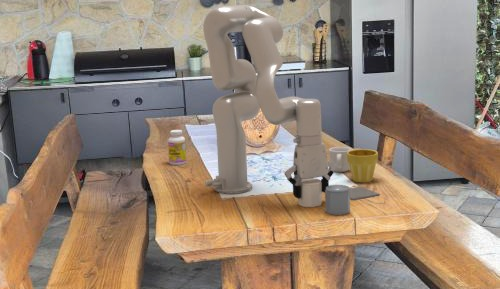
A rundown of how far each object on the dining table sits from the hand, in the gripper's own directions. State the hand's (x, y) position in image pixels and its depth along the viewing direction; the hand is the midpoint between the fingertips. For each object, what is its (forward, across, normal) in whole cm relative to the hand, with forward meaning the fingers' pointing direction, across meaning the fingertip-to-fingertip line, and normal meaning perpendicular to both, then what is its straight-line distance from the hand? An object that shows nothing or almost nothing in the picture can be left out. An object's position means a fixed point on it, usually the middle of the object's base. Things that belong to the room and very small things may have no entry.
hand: (311, 194), depth 221 cm
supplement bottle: (+2, -16, +74) cm, 75 cm away
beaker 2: (+3, +3, -10) cm, 11 cm away
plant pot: (+3, +29, +15) cm, 32 cm away
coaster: (+3, +18, +2) cm, 18 cm away
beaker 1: (+3, 0, +1) cm, 3 cm away
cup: (+3, +29, +29) cm, 41 cm away
